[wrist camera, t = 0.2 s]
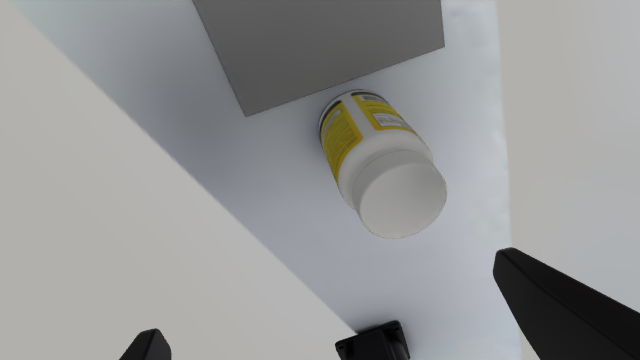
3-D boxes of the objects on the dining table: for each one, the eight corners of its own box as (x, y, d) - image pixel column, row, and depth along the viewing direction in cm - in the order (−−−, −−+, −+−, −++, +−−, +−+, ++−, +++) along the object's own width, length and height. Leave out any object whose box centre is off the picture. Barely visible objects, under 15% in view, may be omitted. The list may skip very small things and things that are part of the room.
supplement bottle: (331, 169, 24) (366, 259, 17) (305, 107, 21) (333, 184, 14) (399, 141, 24) (462, 222, 17) (381, 75, 21) (447, 138, 14)
